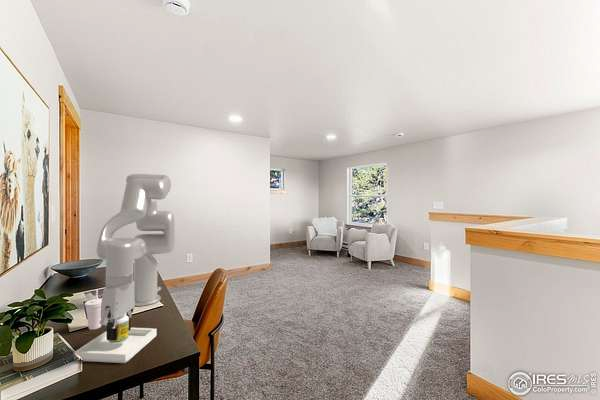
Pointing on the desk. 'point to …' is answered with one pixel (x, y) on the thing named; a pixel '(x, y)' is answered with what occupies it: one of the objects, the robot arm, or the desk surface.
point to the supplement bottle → (122, 329)
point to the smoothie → (94, 312)
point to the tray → (116, 346)
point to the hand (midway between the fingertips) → (118, 334)
